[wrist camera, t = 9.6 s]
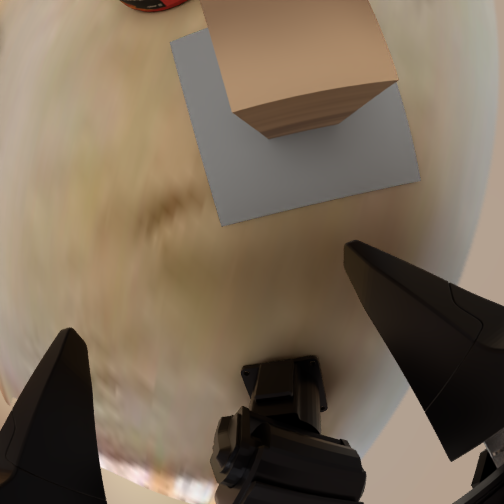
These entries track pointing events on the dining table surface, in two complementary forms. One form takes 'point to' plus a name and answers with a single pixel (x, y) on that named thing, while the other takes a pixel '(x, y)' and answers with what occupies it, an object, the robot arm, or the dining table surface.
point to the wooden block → (298, 60)
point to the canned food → (152, 4)
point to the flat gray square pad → (288, 146)
